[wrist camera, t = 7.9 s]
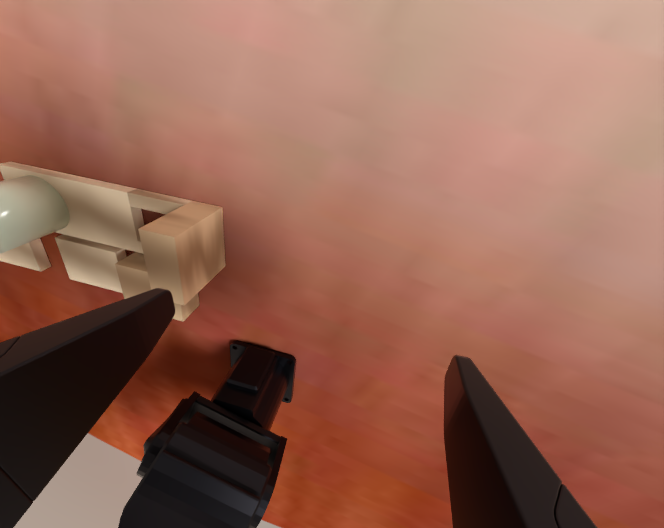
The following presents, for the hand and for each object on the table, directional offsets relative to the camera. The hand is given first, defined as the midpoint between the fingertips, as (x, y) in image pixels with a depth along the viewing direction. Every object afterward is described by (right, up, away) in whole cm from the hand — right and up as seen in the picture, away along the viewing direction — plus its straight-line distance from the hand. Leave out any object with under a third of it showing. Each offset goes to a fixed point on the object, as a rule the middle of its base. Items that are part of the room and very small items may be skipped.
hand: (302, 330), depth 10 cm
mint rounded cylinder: (-23, +7, +16) cm, 29 cm away
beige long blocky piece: (-17, +6, +16) cm, 24 cm away
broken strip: (-22, +3, +19) cm, 29 cm away
